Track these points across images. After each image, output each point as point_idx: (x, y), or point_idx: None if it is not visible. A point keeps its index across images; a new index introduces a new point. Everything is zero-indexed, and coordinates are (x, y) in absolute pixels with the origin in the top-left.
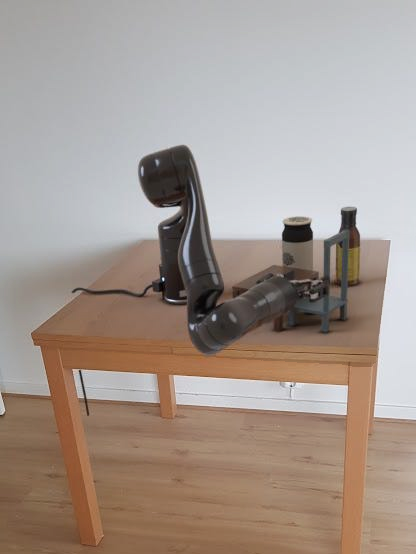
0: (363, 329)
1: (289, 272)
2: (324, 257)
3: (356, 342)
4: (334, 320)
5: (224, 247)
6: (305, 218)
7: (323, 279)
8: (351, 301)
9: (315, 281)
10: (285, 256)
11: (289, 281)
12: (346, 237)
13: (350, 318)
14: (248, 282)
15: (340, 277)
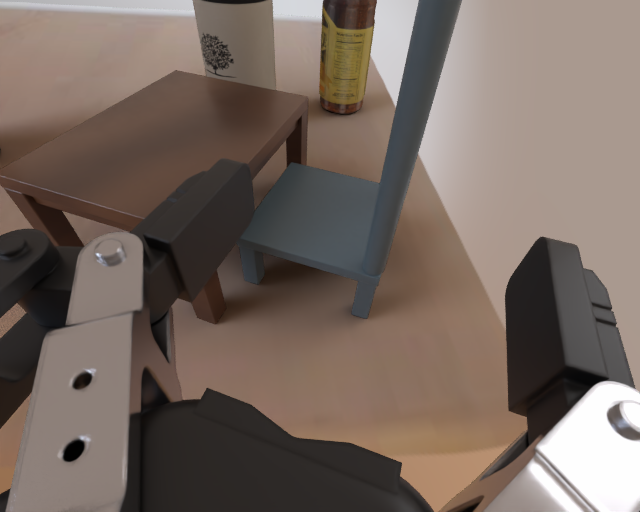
0: (460, 285)
1: (215, 196)
2: (416, 57)
3: (483, 377)
4: None
5: (108, 25)
6: None
7: (590, 329)
8: (372, 161)
9: (604, 457)
10: (207, 45)
11: (225, 481)
12: None
13: (400, 230)
14: (72, 149)
15: (331, 96)
